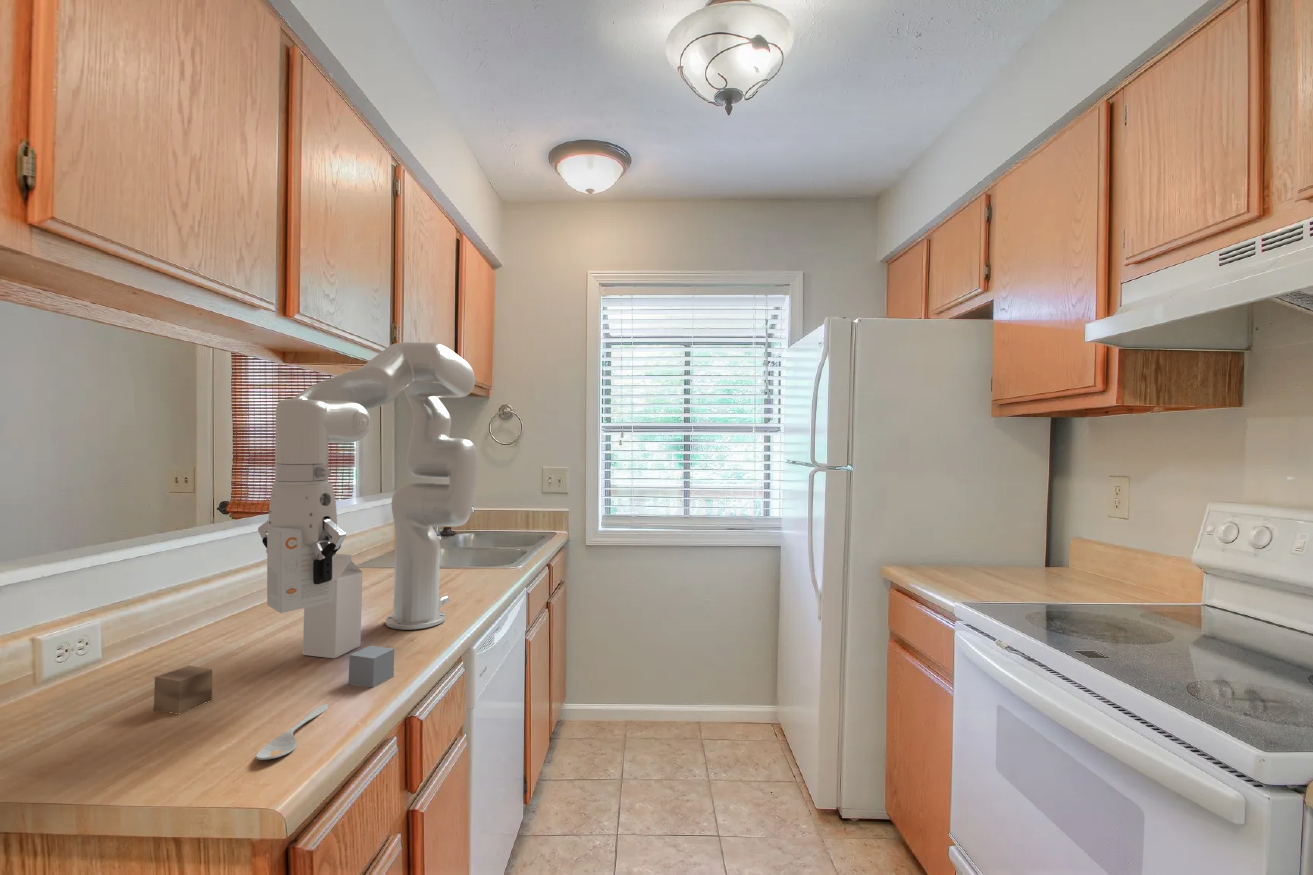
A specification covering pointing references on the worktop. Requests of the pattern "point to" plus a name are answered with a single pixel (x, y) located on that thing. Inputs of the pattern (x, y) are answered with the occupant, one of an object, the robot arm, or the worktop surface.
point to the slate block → (371, 666)
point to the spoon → (287, 737)
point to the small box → (293, 572)
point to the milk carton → (336, 614)
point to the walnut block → (183, 689)
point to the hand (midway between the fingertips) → (300, 579)
